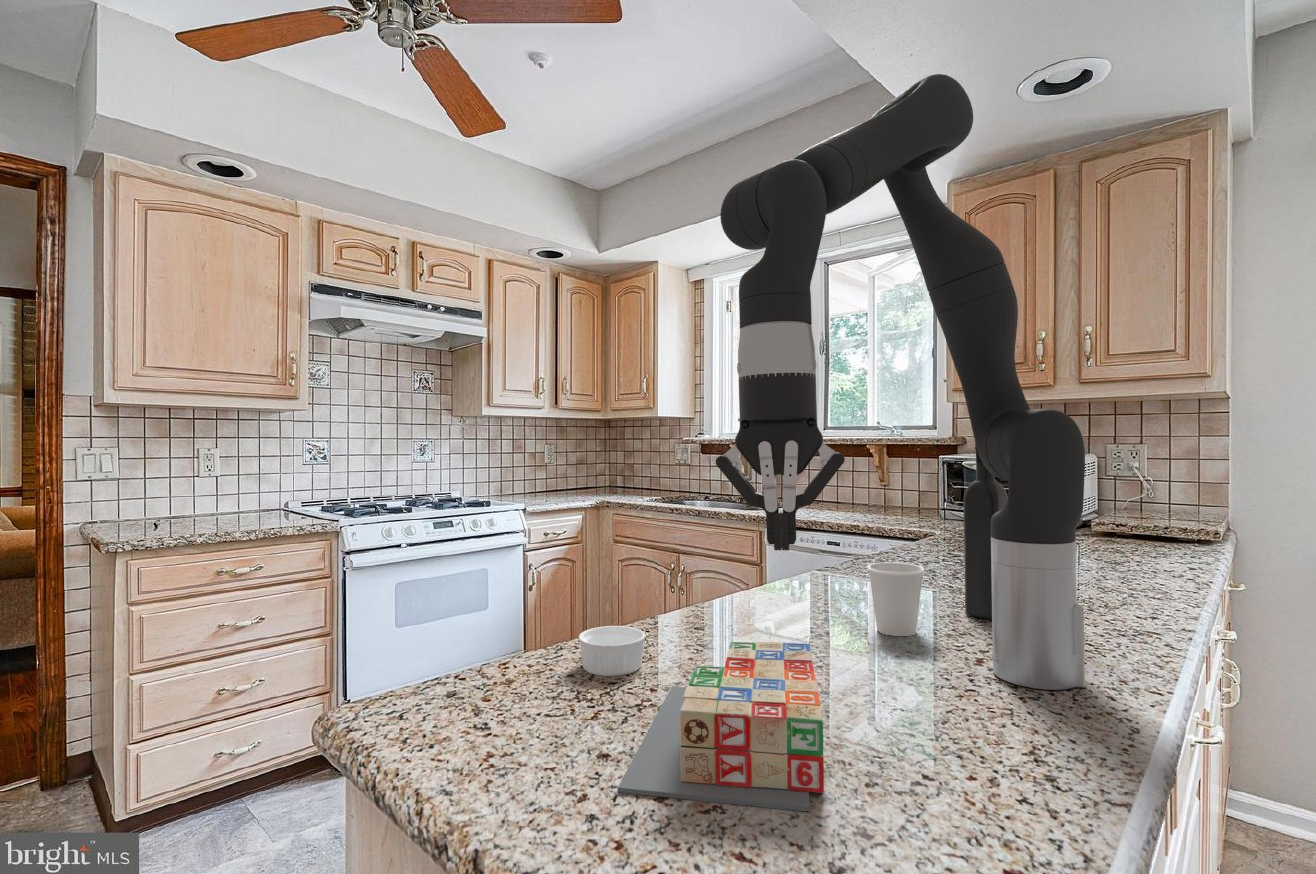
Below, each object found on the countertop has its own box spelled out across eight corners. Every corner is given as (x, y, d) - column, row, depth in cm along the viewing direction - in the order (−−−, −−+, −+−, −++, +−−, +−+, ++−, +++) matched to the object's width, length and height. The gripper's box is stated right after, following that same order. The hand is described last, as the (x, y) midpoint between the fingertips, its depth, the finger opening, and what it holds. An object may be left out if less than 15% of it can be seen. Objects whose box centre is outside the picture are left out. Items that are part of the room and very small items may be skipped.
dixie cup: (895, 642, 98) (894, 574, 98) (856, 628, 106) (855, 565, 106) (937, 635, 102) (936, 569, 102) (897, 621, 109) (896, 560, 109)
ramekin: (659, 666, 90) (658, 633, 90) (610, 684, 83) (610, 649, 84) (613, 652, 96) (613, 622, 96) (565, 668, 90) (564, 635, 90)
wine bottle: (1012, 616, 112) (1009, 436, 112) (998, 622, 108) (994, 436, 108) (977, 610, 116) (975, 436, 116) (962, 616, 112) (959, 436, 113)
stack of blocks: (811, 697, 77) (704, 691, 79) (811, 642, 77) (704, 638, 79) (824, 794, 56) (677, 783, 58) (823, 719, 56) (677, 710, 58)
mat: (808, 699, 77) (807, 695, 77) (809, 811, 54) (809, 807, 54) (672, 689, 81) (671, 686, 81) (617, 792, 57) (617, 787, 57)
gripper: (843, 373, 68) (848, 543, 68) (714, 379, 71) (719, 543, 71) (849, 366, 61) (854, 556, 61) (705, 373, 64) (710, 555, 64)
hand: (781, 549), depth 66 cm, fingers closed
